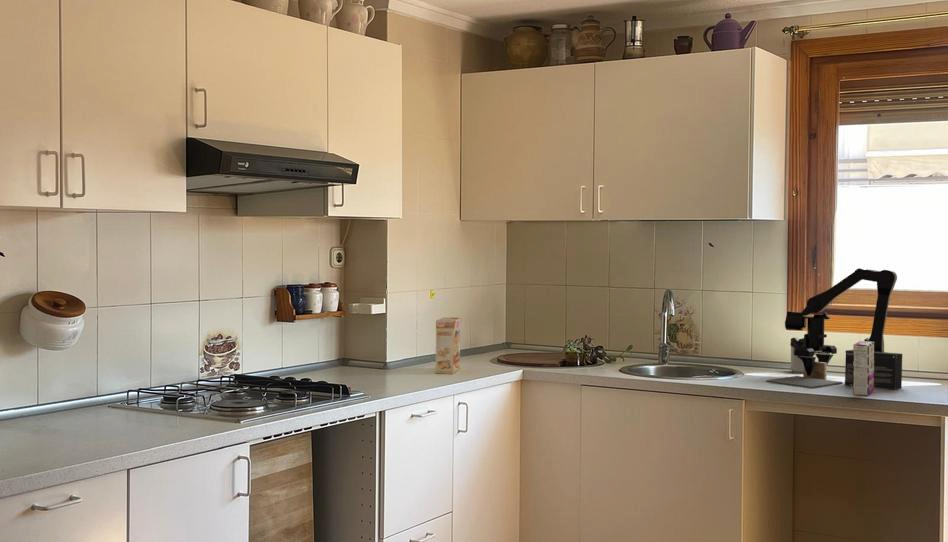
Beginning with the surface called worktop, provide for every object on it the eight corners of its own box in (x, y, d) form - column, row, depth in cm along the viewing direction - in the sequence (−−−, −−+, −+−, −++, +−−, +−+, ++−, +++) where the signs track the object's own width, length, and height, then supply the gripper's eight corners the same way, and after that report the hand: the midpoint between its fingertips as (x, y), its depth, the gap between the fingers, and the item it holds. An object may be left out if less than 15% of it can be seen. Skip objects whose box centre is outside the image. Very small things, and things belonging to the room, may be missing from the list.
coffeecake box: (453, 374, 339) (454, 320, 338) (434, 373, 340) (434, 320, 339) (461, 368, 354) (461, 317, 353) (442, 368, 355) (442, 316, 354)
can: (793, 370, 356) (794, 338, 356) (813, 371, 352) (814, 340, 352) (788, 372, 350) (788, 340, 350) (808, 374, 346) (809, 341, 345)
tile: (826, 379, 333) (826, 362, 333) (823, 380, 332) (823, 363, 332) (806, 377, 339) (806, 360, 339) (803, 377, 338) (803, 360, 338)
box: (902, 388, 314) (903, 352, 314) (895, 390, 309) (896, 354, 309) (851, 382, 326) (852, 348, 325) (844, 384, 321) (844, 350, 320)
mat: (842, 383, 323) (842, 382, 323) (812, 388, 312) (812, 386, 312) (796, 377, 337) (796, 375, 337) (766, 381, 326) (766, 380, 326)
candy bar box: (857, 390, 309) (858, 340, 308) (874, 391, 306) (875, 341, 306) (851, 394, 299) (852, 343, 299) (868, 396, 297) (869, 344, 296)
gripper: (810, 328, 347) (809, 370, 347) (780, 330, 335) (780, 374, 336) (838, 330, 338) (837, 373, 339) (808, 333, 327) (807, 378, 327)
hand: (814, 374), depth 335 cm, fingers open, 7 cm apart
